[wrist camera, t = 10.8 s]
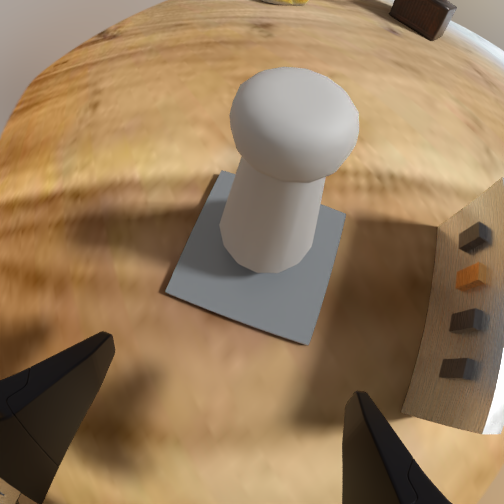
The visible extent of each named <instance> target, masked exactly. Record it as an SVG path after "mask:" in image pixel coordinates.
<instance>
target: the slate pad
mask: <svg viewBox="0 0 504 504" xmlns="http://www.w3.org/2000/svg"><path fill="white" fill-rule="evenodd" d="M234 178H235V174H232V173H229V172H226V171H223V170H222V171H221V173H220V175H219V177H218V179H217V181H216V183H215V185H214V187H213V189H212V191H211V193H210V195H209V197H208V199H207V201H206V203H205V205H204V207H203V209H202V211H201V213H200V215H199V217H198V220H197V222H196V224H195V226H194V228H193V230H192V232H191V234H190V237H189V239H188V241H187V243H186V245H185V248H184V250H183V252H182V254H181V256H180V259H179V261H178V263H177V265H176V268H175V270H174V272H173V275H172V277H171V279H170V282H169V284H168V286H167V289H166V291H165V292H166V293H167V294H169V295H172V296H174V297H177V298H179V299H181V300H184V301H186V302H189V303H191V304H194V305H196V306H199V307H201V308H204V309H206V310H209V311H211V312H214V313H216V314H219V315H222V316H224V317H227V318H230V319H232V320H235V321H238V322H240V323H243V324H246V325H248V326H251V327H254V328H257V329H260V330H262V331H265V332H268V333H271V334H274V335H277V336H280V337H283V338H286V339H289V340H292V341H295V342H298V343H301V344H304V345H309V343H310V340H311V337H312V334H313V331H314V328H315V325H316V322H317V319H318V315H319V312H320V309H321V306H322V302H323V299H324V296H325V292H326V289H327V286H328V282H329V279H330V275H331V272H332V268H333V264H334V261H335V257H336V253H337V249H338V246H339V242H340V238H341V234H342V230H343V226H344V221H345V217H346V214H345V213H342V212H340V211H337V210H334V209H332V208H329V207H327V206H324V205H321V204H320V209H319V214H318V219H317V224H316V229H315V233H314V238H313V243H312V247H311V248H310V249H309V251H308V252H307V253H306V255H305V256H304V257H303V259H302V260H301V261H300V262H299V263H298V264H297V265H294V266H292V267H290V268H288V269H286V270H284V271H282V272H280V273H256V272H254V271H252V270H250V269H248V268H246V267H244V266H242V265H240V264H238V263H237V262H236V261H235V260H234V258H233V257H232V256H231V254H230V253H229V252H228V251H227V249H226V248H225V247H224V245H223V240H222V235H221V231H220V226H219V224H220V221H221V218H222V215H223V212H224V208H225V205H226V202H227V199H228V196H229V193H230V190H231V187H232V184H233V181H234Z"/></svg>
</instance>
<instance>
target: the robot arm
mask: <svg viewBox="0 0 504 504" xmlns="http://www.w3.org/2000/svg"><path fill="white" fill-rule="evenodd" d="M114 354H115V346H114V340H113V336H112V334H109V333H107V332H104V331H102V332H99V333H97V334H95V335H93V336H91V337H89V338H87V339H85V340H83V341H81V342H79V343H77V344H75V345H73V346H71V347H70V348H68V349H66V350H64V351H62V352H60V353H58V354H56V355H54V356H52V357H50V358H48V359H46V360H44V361H42V362H40V363H38V364H36V365H34V366H32V367H31V368H27V369H25V370H23V371H21V372H19V373H17V374H15V375H13V376H10V377H8V378H5V379H3V380H0V504H19V502H18V499H19V497H20V495H21V493H22V494H24V495H25V496H27V497H28V498H30V499H32V500H33V501H35V502H36V503H38V504H42V503H43V501H44V499H45V496H46V494H47V492H48V490H49V488H50V485H51V483H52V481H53V479H54V477H55V475H56V472H57V470H58V468H59V466H60V464H61V462H62V460H63V458H64V455H65V453H66V451H67V449H68V447H69V445H70V443H71V442H72V440H73V438H74V436H75V434H76V432H77V430H78V428H79V426H80V424H81V422H82V420H83V418H84V417H85V415H86V413H87V411H88V409H89V407H90V405H91V404H92V402H93V400H94V398H95V396H96V395H97V393H98V391H99V389H100V387H101V385H102V383H103V380H104V378H105V376H106V373H107V371H108V368H109V366H110V364H111V361H112V359H113V357H114ZM342 461H343V490H342V504H452V503H451V502H450V501H449V500H448V499H447V498H446V497H445V496H444V495H443V494H442V493H441V492H440V491H439V489H438V488H437V487H436V486H435V485H434V484H433V483H432V482H431V480H430V479H429V478H428V477H427V476H426V474H425V473H424V472H423V471H422V469H421V468H420V467H419V465H418V464H417V462H416V461H415V459H413V457H412V455H411V454H410V453H409V451H408V450H407V448H406V447H405V445H404V444H403V443H402V441H401V440H400V438H399V437H398V436H397V434H396V433H395V431H394V430H393V429H392V427H391V426H390V424H389V423H388V422H387V420H386V419H385V417H384V416H383V415H382V413H381V412H380V410H379V409H378V408H377V406H376V405H375V403H374V402H373V401H372V399H371V398H370V396H369V395H368V394H367V393H366V392H363V391H356V392H354V394H353V395H352V397H351V398H350V399H349V401H348V402H347V404H346V407H345V417H344V429H343V441H342Z"/></svg>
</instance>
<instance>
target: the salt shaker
mask: <svg viewBox="0 0 504 504" xmlns="http://www.w3.org/2000/svg"><path fill="white" fill-rule="evenodd" d="M230 125H231V130H232V134H233V138H234V141H235V145H236V148H237V150H238V152H239V153H240V154H241V155H242V157H241V160H240V163H239V166H238V169H237V172H236V175H235V178H234V181H233V184H232V187H231V190H230V193H229V196H228V199H227V202H226V205H225V208H224V212H223V215H222V218H221V221H220V224H219V226H220V231H221V235H222V240H223V245H224V247H225V248H226V249H227V251H228V252H229V253H230V254H231V256H232V257H233V258H234V260H235V261H236V262H237V263H238V264H240V265H242V266H244V267H246V268H248V269H250V270H252V271H254V272H256V273H280V272H282V271H284V270H286V269H288V268H290V267H292V266H294V265H297V264H298V263H299V262H300V261H301V260H302V259H303V257H304V256H305V255H306V253H307V252H308V251H309V249H310V248H311V247H312V243H313V238H314V233H315V229H316V224H317V219H318V214H319V209H320V204H321V198H322V193H323V188H324V182H325V177H326V176H329V175H331V174H333V173H334V172H336V171H337V169H338V168H339V167H340V166H341V165H342V163H343V162H344V161H345V160H346V159H347V157H348V156H349V155H350V153H351V152H352V150H353V148H354V147H355V145H356V142H357V138H358V133H359V112H358V111H357V109H356V107H355V106H354V104H353V102H352V101H351V99H350V97H349V96H348V94H347V93H346V92H345V90H344V89H343V88H341V87H340V86H339V85H337V84H336V83H335V82H333V81H332V80H331V79H329V78H328V77H326V76H324V75H321V74H319V73H316V72H313V71H311V70H308V69H303V68H293V67H280V68H274V69H269V70H264V71H262V72H259V73H257V74H256V75H254V76H253V77H251V78H250V79H248V80H247V81H245V82H244V83H242V84H241V85H240V87H239V89H238V91H237V94H236V96H235V98H234V100H233V103H232V107H231V111H230Z"/></svg>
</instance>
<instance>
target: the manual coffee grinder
mask: <svg viewBox="0 0 504 504" xmlns="http://www.w3.org/2000/svg"><path fill="white" fill-rule="evenodd" d="M456 9H457V7H456V6H454V5H453V4H452V3H450V2H449V1H447V0H395V1H394V3H393V6H392V9H391V11H390V13H389V14H390V15H391V16H392V17H394V18H395V19H397V20H398V21H400V22H402V23H403V24H405V25H406V26H408V27H410V28H411V29H413V30H414V31H416V32H417V33H419V34H421V35H422V36H424V37H425V38H427V39H428V40H430V41H434V40H436V39H438V38H440V37H441V36H442V35H443V33H444V31H445V29H446V27H447V25H448V24H449V22H450V20H451V18H452V16H453V14H454V12H455V11H456Z"/></svg>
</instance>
